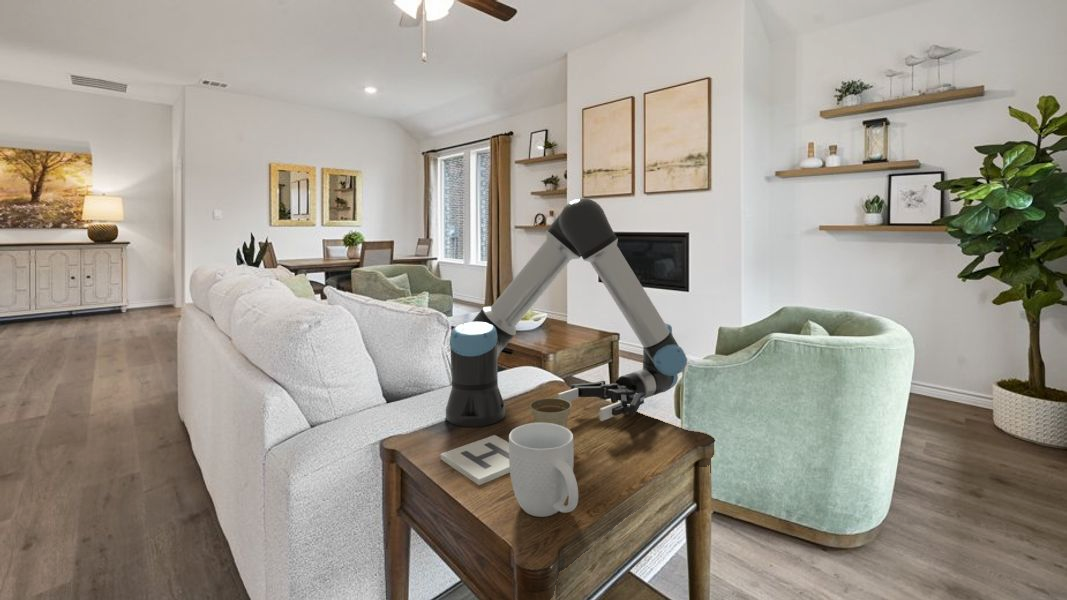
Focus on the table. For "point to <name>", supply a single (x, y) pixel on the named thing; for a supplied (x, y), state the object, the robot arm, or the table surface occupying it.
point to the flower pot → (551, 411)
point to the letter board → (480, 459)
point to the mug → (543, 468)
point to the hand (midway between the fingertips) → (578, 406)
